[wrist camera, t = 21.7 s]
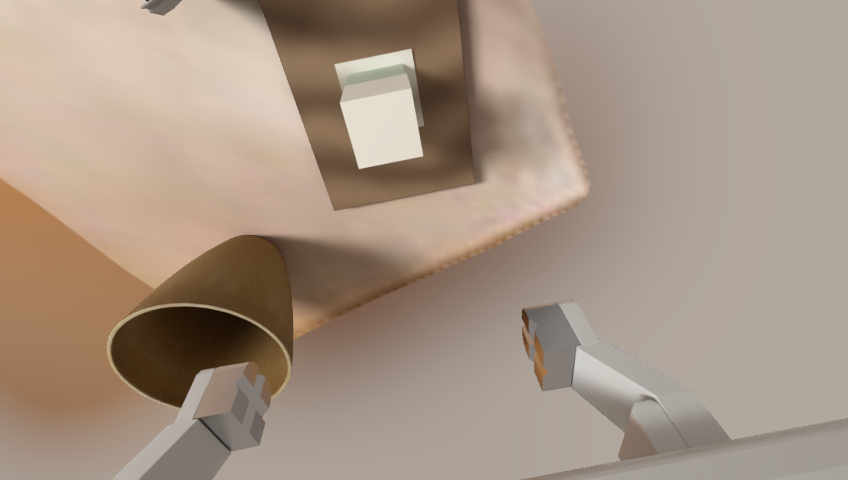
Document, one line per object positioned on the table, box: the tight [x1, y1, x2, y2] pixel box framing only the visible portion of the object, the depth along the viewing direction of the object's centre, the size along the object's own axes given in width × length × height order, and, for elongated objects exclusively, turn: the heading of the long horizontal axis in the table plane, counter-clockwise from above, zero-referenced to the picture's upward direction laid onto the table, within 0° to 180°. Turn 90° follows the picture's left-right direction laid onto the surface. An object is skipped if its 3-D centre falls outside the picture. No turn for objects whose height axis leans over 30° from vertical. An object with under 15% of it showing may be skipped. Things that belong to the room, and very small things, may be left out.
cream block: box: [340, 73, 423, 169], centre depth 29 cm, size 5×5×5 cm
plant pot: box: [107, 235, 293, 410], centre depth 40 cm, size 15×15×16 cm
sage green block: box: [344, 64, 405, 87], centre depth 33 cm, size 5×5×5 cm
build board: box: [259, 0, 475, 211], centre depth 36 cm, size 22×16×2 cm
